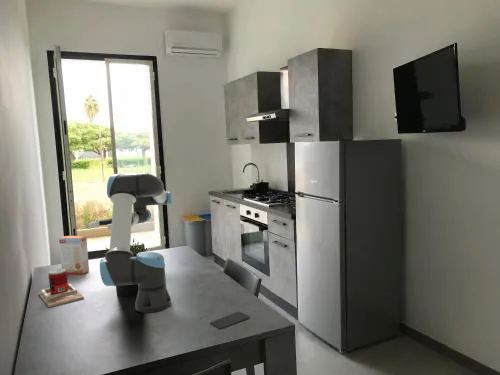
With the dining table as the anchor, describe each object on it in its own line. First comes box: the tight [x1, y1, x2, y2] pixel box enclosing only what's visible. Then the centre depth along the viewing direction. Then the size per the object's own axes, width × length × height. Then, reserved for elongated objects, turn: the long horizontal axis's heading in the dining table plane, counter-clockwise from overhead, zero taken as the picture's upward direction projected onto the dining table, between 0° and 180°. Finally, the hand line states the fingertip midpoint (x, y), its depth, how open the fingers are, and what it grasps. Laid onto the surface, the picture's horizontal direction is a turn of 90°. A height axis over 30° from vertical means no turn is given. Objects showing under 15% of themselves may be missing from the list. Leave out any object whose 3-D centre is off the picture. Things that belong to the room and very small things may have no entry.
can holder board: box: [38, 283, 85, 309], centre depth 188 cm, size 22×15×2 cm
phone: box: [209, 311, 250, 330], centre depth 155 cm, size 7×1×15 cm
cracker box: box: [58, 235, 90, 275], centre depth 225 cm, size 14×6×21 cm, turn 77°
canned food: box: [47, 267, 69, 295], centre depth 190 cm, size 8×8×11 cm
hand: (98, 226), depth 202 cm, fingers open, 13 cm apart
